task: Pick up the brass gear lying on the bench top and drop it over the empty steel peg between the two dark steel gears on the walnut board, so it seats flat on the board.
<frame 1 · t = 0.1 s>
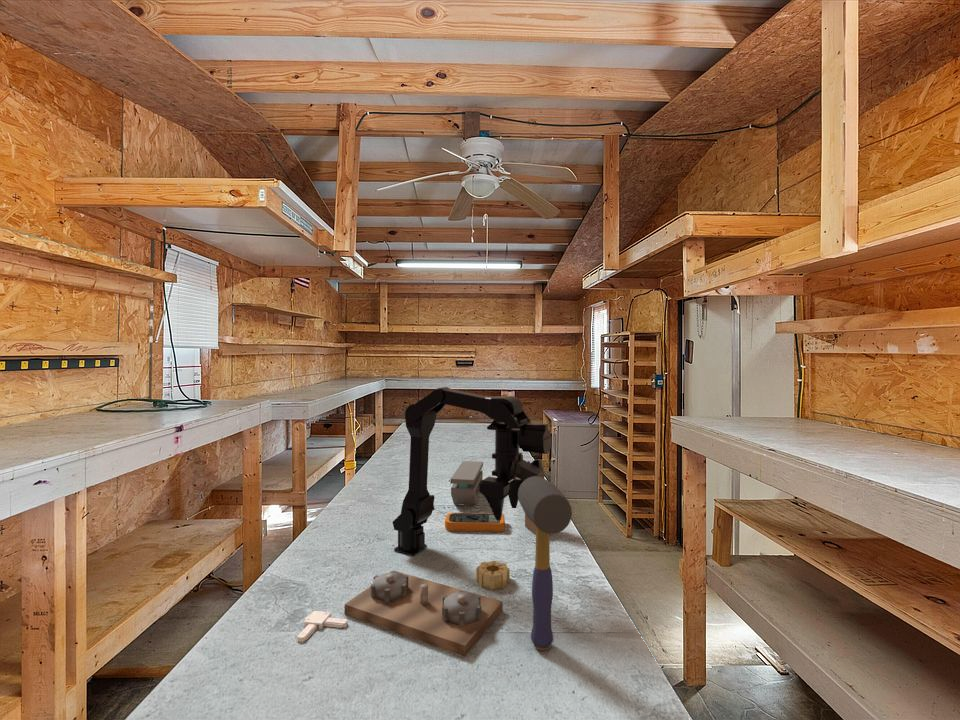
hand: (506, 513, 109), 14 cm above the workbench, tool pointing down, fingers open, 9 cm apart
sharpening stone: (467, 500, 164), on the workbench
wooden block: (537, 531, 136), on the workbench
corner connector: (321, 633, 87), on the workbench
gear board: (424, 612, 93), on the workbench
multimeter: (474, 528, 139), on the workbench
rubber mallet: (541, 647, 83), on the workbench
brass gear: (492, 581, 106), on the workbench
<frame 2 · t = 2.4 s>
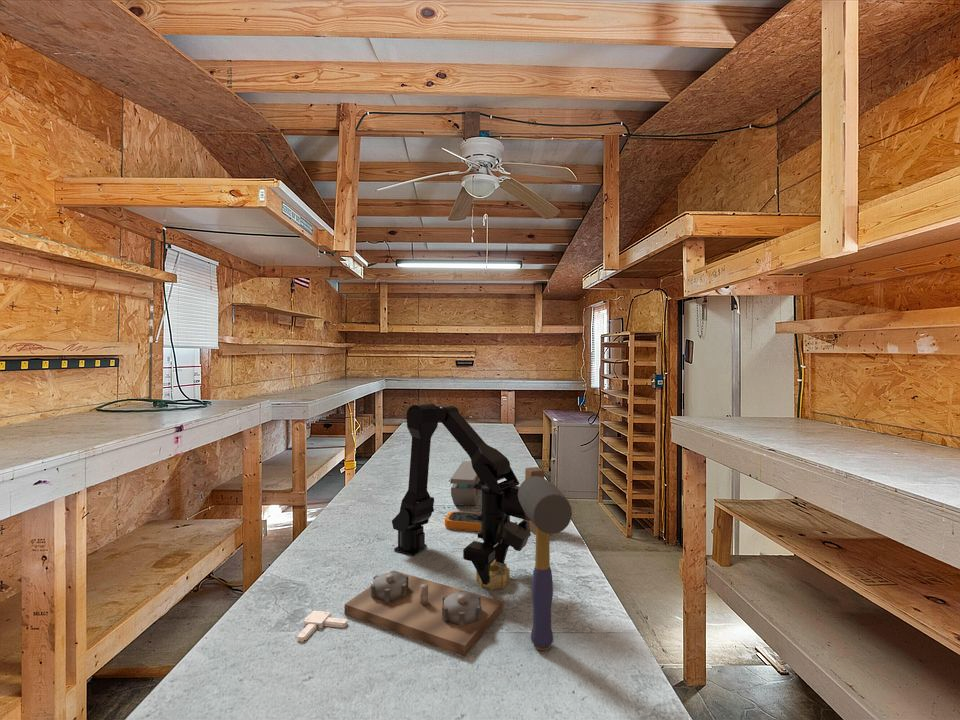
hand: (492, 576, 106), 1 cm above the workbench, tool pointing down, fingers closed on brass gear, 7 cm apart
brass gear: (492, 581, 106), on the workbench, touching gripper
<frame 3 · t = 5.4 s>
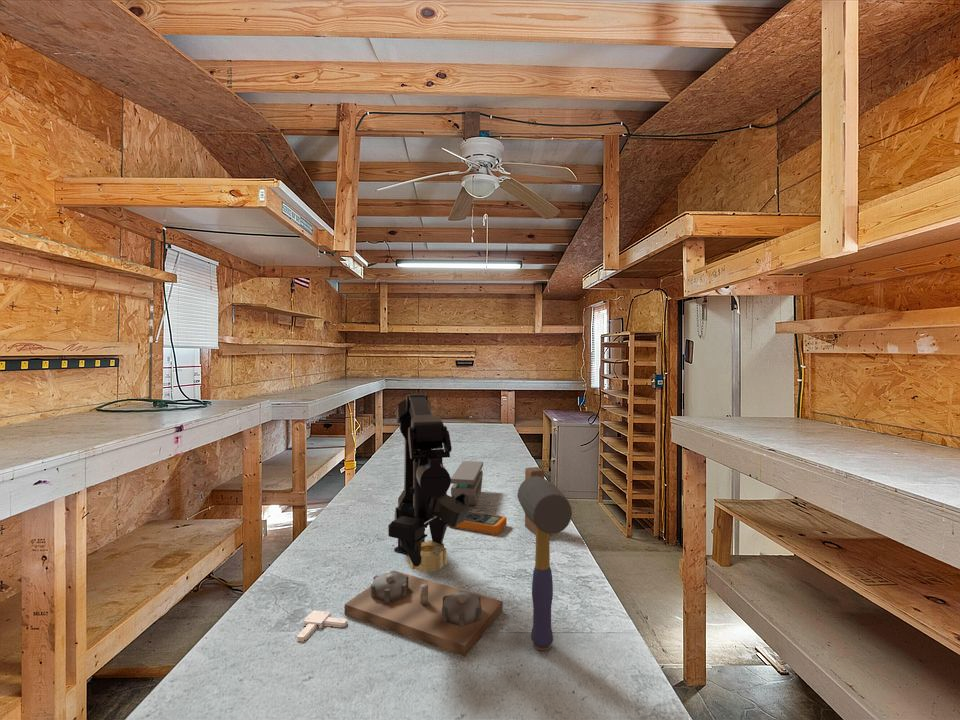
hand: (427, 558, 93), 11 cm above the workbench, tool pointing down, fingers closed on brass gear, 7 cm apart
brass gear: (427, 563, 93), point 10 cm above the workbench, touching gripper
when the fingers open (4 cm above the workbench, at t = 8.4 s): brass gear stays where it is, resting on gear board.
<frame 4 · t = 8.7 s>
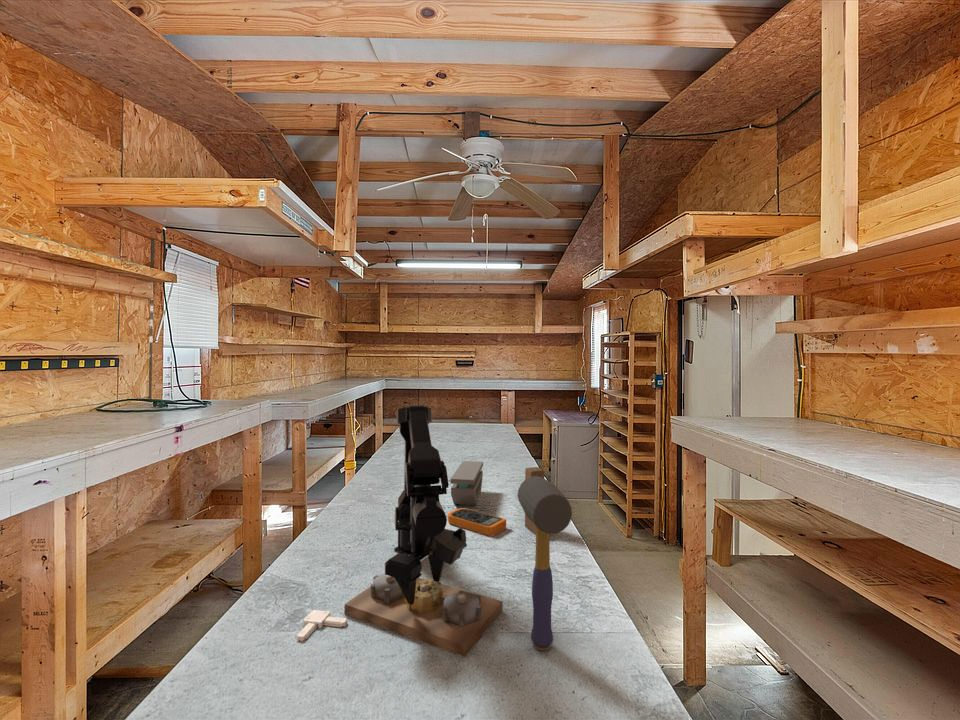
hand: (424, 593, 93), 4 cm above the workbench, tool pointing down, fingers open, 9 cm apart
brass gear: (424, 602, 93), point 2 cm above the workbench, touching gear board
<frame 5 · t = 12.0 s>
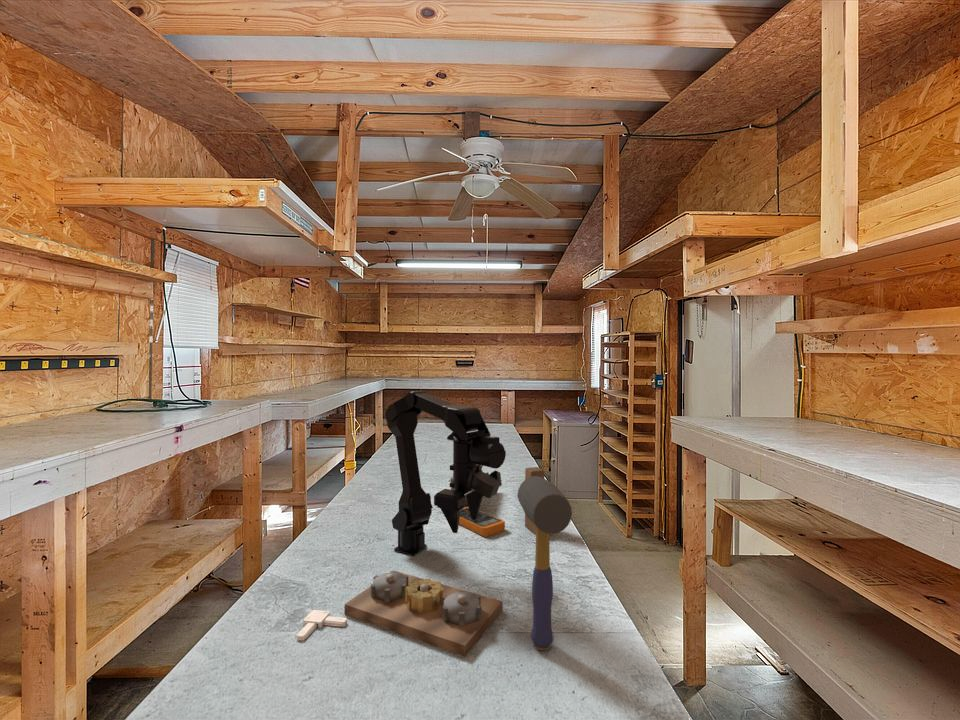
hand: (464, 526, 108), 12 cm above the workbench, tool pointing down, fingers open, 9 cm apart
at the end: brass gear 0.0 cm from the gear board (horizontally); brass gear point 2.0 cm above the workbench; the gripper is holding nothing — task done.
